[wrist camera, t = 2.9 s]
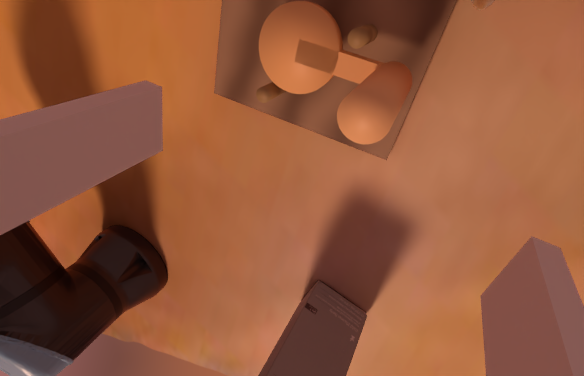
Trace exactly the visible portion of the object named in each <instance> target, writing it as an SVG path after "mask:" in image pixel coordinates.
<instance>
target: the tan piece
mask: <svg viewBox="0 0 584 376" xmlns="http://www.w3.org/2000/svg"><path fill="white" fill-rule="evenodd" d="M259 55H260V60H261V63H262V66H263V68H264V70H265V72H266V74H267V75H268V77H269V78H270V79H271V80H272V82H273V83H274V84H276V85H277V86H278V87H279V88H281V89H283V90H285V91H287V92H290V93H294V94H307V93H311V92H313V91H316V90H318V89H319V88H321V87H322V86H324V85H325V84H326V83H328V82H329V81H330V80H331V79H332V78H333V76H334V75H335V76H337V77H340V78H343V79H346V80H349V81H352V82H355V83H358V84H359V85H358V86H357V87H356V88H355V89H354V90H352V91H351V92H350V93H349V94H348V95H347V96H346V97H345V98H344V99H343V100H342V101H341V103H340V105H339V107H338V111H337V122H338V126H339V128H340V130H341V132H342V133H343V134H344V135H345V136H346V137H347V138H348V139H349V140H351V141H353V142H355V143H358V144H373V143H376V142H378V141H380V140H381V139H383V138H384V137H385V136H386V135H387V134H388V132H389V131H390V129H391V127H392V125H393V123H394V121H395V119H396V117H397V115H398V113H399V111H400V109H401V107H402V105H403V103H404V101H405V99H406V97H407V95H408V93H409V91H410V89H411V86H412V75H411V72H410V70H409V69H408V68H407V66H405V65H404V64H402V63H400V62H396V61H390V62H386V63H382V62H379V61H376V60H373V59H370V58H367V57H364V56H361V55H358V54H355V53H352V52H348V51H345V50H343V41H342V35H341V32H340V29H339V26H338V24H337V23H336V21H335V19H334V18H333V16H332V15H331V14H330V13H329V12H328V11H327V10H326V9H324V8H323V7H322V6H320V5H318V4H316V3H313V2H308V1H293V2H288V3H285V4H282V5H280V6H279V7H277V8H276V9H275V10H273V11H272V12H271V13H270V15H269V16H268V17H267V19H266V20H265V22H264V24H263V26H262V29H261V32H260V37H259Z"/></svg>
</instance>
